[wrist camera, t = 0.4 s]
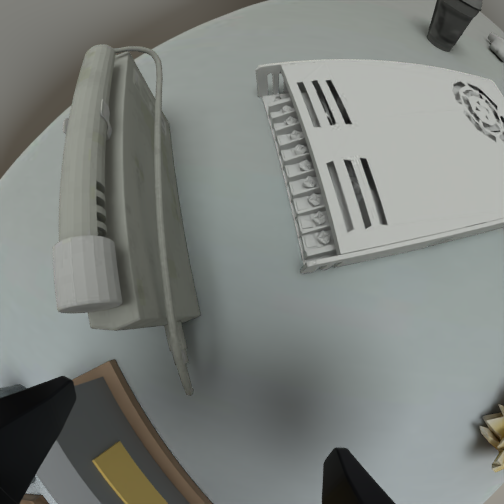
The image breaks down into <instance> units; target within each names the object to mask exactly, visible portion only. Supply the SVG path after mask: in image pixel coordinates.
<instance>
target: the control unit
mask: <svg viewBox="0 0 504 504" xmlns="http://www.w3.org/2000/svg"><path fill="white" fill-rule="evenodd" d="M72 381H73V382H74V386H75V391H76V396H77V397H76V402H75V404H74V406H73V408H72V410H71V412H70V414H69V416H68V418H67V421H66V423H65V425H64V427H63V429H62V431H61V433H60V435H59V436H58V438H57V440H56V441H55V443H54V444H53V446H52V448H51V449H50V451H49V453H48V454H47V456H46V458H45V459H44V461H43V463H42V464H41V466H40V468H39V470H38V471H37V473H36V475H37V476H38V478H39V479H40V480H41V482H42V483H43V485H44V486H45V488H46V489H47V490H48V492H49V493H50V494H51V496H52V497H53V498H54V500H55V501H56V502H57V503H58V504H212V502H211V501H210V500H209V499H208V498H207V497H206V496H205V495H204V494H203V492H202V491H201V490H200V489H199V488H198V487H197V485H196V484H195V483H194V482H193V481H192V479H191V478H190V477H189V476H188V474H187V473H186V472H185V471H184V469H183V468H182V467H181V465H180V464H179V463H178V462H177V460H176V459H175V458H174V456H173V455H172V453H171V452H170V451H169V449H168V448H167V446H166V445H165V444H164V442H163V441H162V439H161V438H160V436H159V435H158V433H157V432H156V430H155V429H154V427H153V426H152V424H151V423H150V421H149V420H148V418H147V416H146V415H145V413H144V411H143V410H142V408H141V406H140V405H139V403H138V401H137V400H136V398H135V396H134V394H133V393H132V391H131V389H130V387H129V386H128V384H127V382H126V380H125V378H124V376H123V374H122V372H121V370H120V368H119V367H118V365H117V363H116V361H115V359H114V360H111V361H108V362H106V363H104V364H102V365H100V366H98V367H96V368H94V369H92V370H91V371H89V372H87V373H85V374H83V375H81V376H79V377H77V378H75V379H73V380H72Z"/></svg>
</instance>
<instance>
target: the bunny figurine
mask: <svg viewBox="0 0 504 504" xmlns="http://www.w3.org/2000/svg"><path fill="white" fill-rule="evenodd" d="M488 39H489V41H490V42H491V45H490V49H491V50H492V51H493V52H494V53H495V54H496V55H497V56H498V57H499V58H500V59H501V60H502V61H503V62H504V39H503V38H501V37H499V36H497V35H495V34H494V33H492V32H491V33H490V35H489V36H488Z"/></svg>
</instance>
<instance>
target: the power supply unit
mask: <svg viewBox="0 0 504 504" xmlns="http://www.w3.org/2000/svg"><path fill="white" fill-rule="evenodd" d="M270 73H272V75H273V94H274V95H269V96H268V82H267V75H268V74H270ZM279 73H282V76H283V78H284V94H279ZM256 79H257V90H258V97H262V98H263V102H264V105H265V109H266V112H267V116H268V119H269V123H270V127H271V130H272V134H273V138H274V141H275V145H276V149H277V153H278V156H279V160H280V164H281V168H282V172H283V176H284V180H285V184H286V188H287V192H288V197H289V201H290V205H291V209H292V214H293V218H294V222H295V227H296V231H297V236H298V240H299V245H300V250H301V254H302V259H303V264H304V266H303V267H302V268H301V270H300V271H301V274H304V273H311V272H314V271H315V270H316V269H318V268H319V267H320V269H321V270H327V269H328V268H330V267H331V266H332V265H334V268H335V267H339V266H344V265H349V264H354V263H359V262H363V261H368V260H373V259H377V258H382V257H386V256H391V255H395V254H400V253H404V252H409V251H413V250H417V249H422V248H424V247H427V246H434V245H436V244H441V243H445V242H449V241H453V240H457V239H460V238H464V237H468V236H472V235H476V234H480V233H483V232H487V231H491V230H495V229H498V228H502V227H504V97H503V95H502V94H501V92H500V91H499V89H498V88H497V86H496V85H495V83H494V82H493V81H492V80H490V79H486V78H483V77H479V76H475V75H471V74H467V73H463V72H459V71H454V70H449V69H444V68H439V67H433V66H427V65H420V64H412V63H404V62H394V61H381V60H360V59H326V60H305V61H292V62H281V63H272V64H264V65H259V66H258V67H257V69H256Z"/></svg>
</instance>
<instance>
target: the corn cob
mask: <svg viewBox="0 0 504 504" xmlns="http://www.w3.org/2000/svg"><path fill="white" fill-rule="evenodd" d="M498 405H499V404H498ZM499 408H500V411H501V413H496V414H491V415H485V416H483V417H482V418H483V419H484V421H485V423H486V424H487V426H488V428H486V427H482V426H480V430H481V433H482V434H483V436H484V437H485V438H486V439H487V440H488V442H489V443H490V444H491V445H493V446H494V447H495V448H496V449H497V450H498V451H499V454H498V456H497V458H496V459H495V461H494V462H493V464H492V470H494V471H495V472H498V471H500V470H502V469H504V406H503V405H499Z"/></svg>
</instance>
